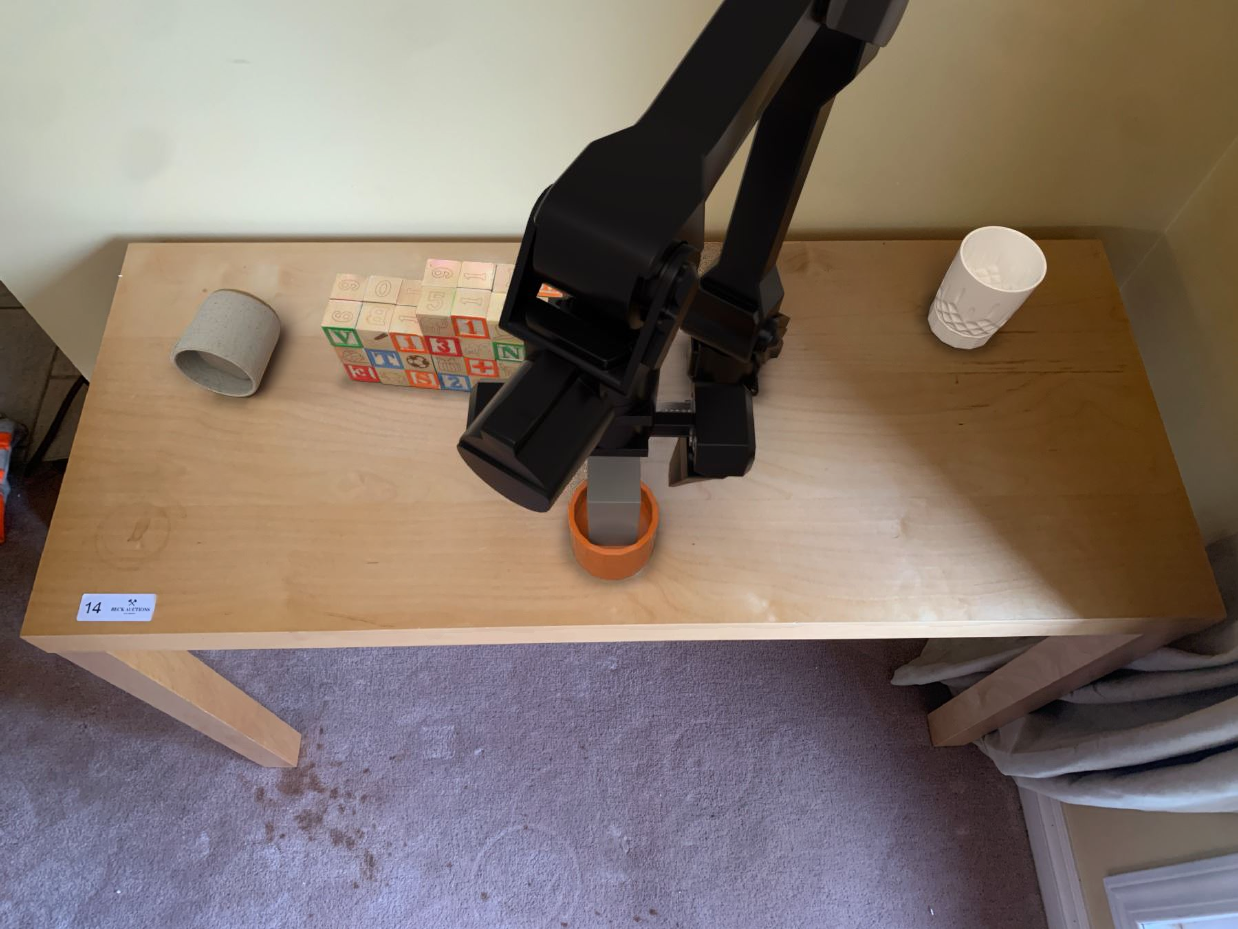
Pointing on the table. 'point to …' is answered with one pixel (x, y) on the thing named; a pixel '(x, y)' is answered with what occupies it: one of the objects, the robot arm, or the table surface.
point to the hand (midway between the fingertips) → (610, 479)
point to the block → (613, 500)
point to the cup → (612, 558)
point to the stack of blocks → (426, 325)
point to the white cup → (985, 285)
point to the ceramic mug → (228, 343)
